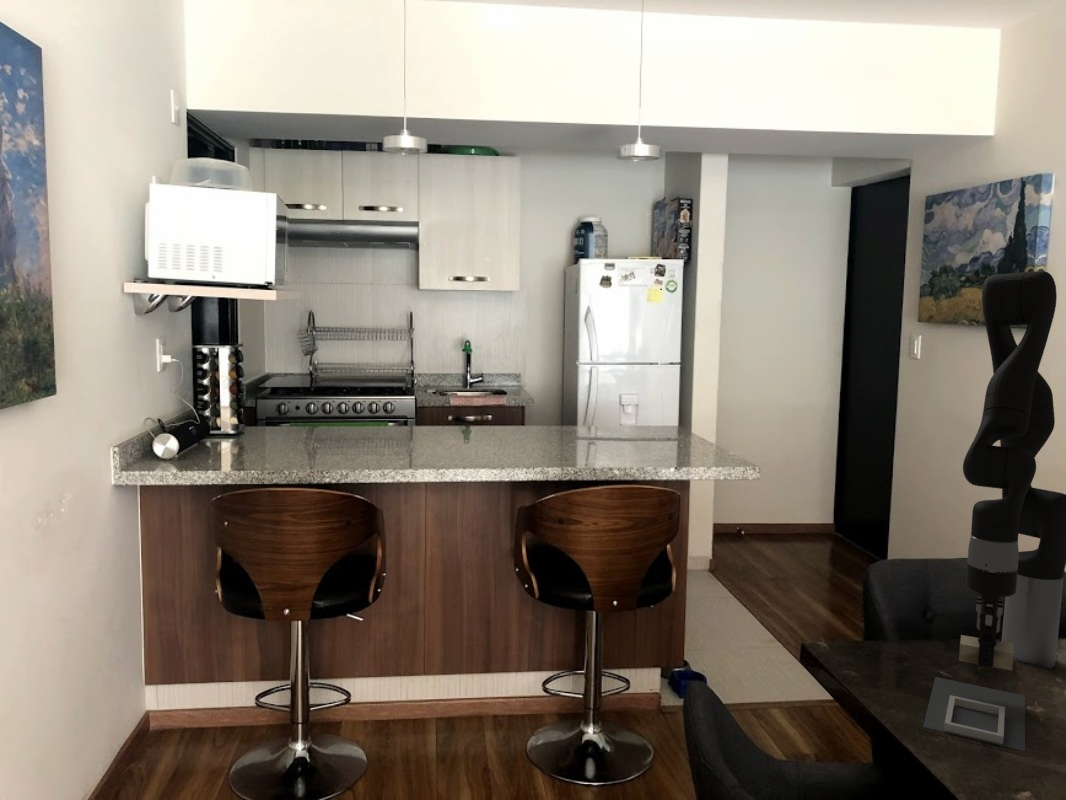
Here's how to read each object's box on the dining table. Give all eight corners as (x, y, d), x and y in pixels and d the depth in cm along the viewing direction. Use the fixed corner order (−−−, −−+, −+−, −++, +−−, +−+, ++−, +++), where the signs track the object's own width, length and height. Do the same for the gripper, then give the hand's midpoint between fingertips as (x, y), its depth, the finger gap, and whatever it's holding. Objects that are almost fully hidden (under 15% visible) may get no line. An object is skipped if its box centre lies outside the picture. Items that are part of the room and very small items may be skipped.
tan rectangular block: (958, 660, 148) (960, 643, 148) (960, 651, 152) (961, 634, 152) (1012, 670, 144) (1013, 653, 144) (1012, 660, 148) (1013, 643, 148)
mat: (934, 681, 155) (935, 676, 155) (1024, 700, 149) (1024, 695, 148) (922, 731, 136) (923, 726, 136) (1024, 756, 129) (1025, 751, 129)
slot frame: (949, 702, 145) (950, 695, 145) (1004, 714, 141) (1004, 707, 141) (943, 730, 135) (944, 723, 135) (1002, 744, 131) (1003, 736, 131)
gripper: (968, 549, 154) (962, 641, 156) (966, 571, 142) (959, 671, 144) (1017, 555, 151) (1010, 649, 153) (1018, 578, 138) (1011, 681, 140)
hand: (985, 659), depth 148 cm, fingers closed on tan rectangular block, 4 cm apart
